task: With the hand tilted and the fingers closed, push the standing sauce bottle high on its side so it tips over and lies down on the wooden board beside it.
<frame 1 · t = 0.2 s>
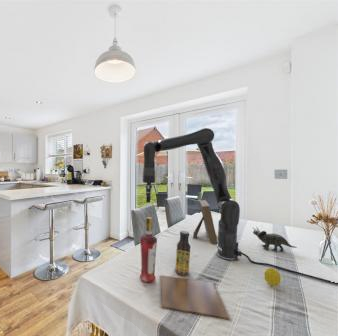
hand: (148, 201, 120), 29 cm above the table, tool pointing down, fingers open, 8 cm apart
liquor: (147, 280, 88), on the table
lemon: (271, 286, 85), on the table
sauce bottle: (182, 273, 94), on the table
toy dinosaur: (272, 249, 122), on the table
photo frame: (203, 237, 141), on the table
wooden board: (189, 294, 78), on the table
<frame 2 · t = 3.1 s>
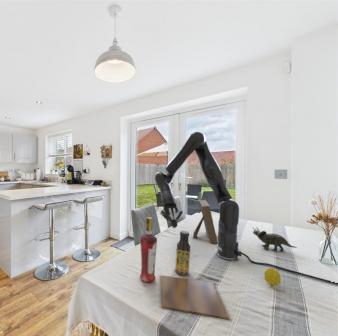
hand: (175, 227, 105), 18 cm above the table, tool tilted 45°, fingers closed
nothing on the table moved.
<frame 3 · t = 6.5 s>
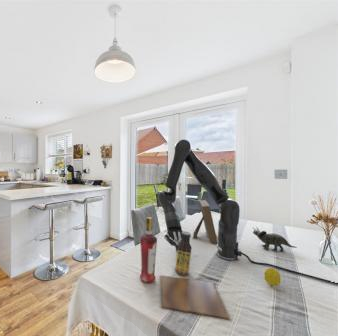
hand: (180, 253, 97), 8 cm above the table, tool tilted 45°, fingers closed
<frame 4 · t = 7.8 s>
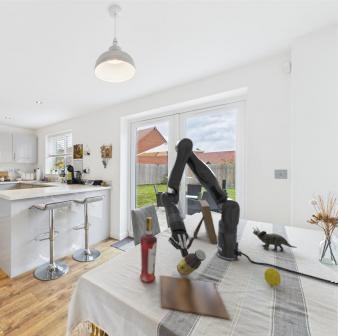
hand: (186, 257, 90), 9 cm above the table, tool tilted 45°, fingers closed
sauce bottle: (183, 269, 93), point 2 cm above the table, touching gripper
everything else where it was.
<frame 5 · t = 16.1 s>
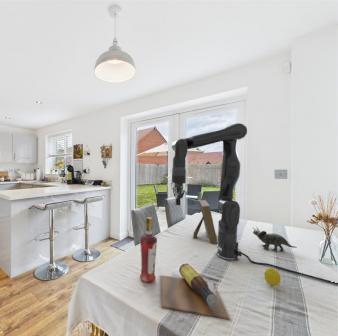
hand: (177, 204, 111), 29 cm above the table, tool pointing down, fingers closed
sauce bottle: (185, 269, 90), point 4 cm above the table, touching wooden board
everything else where it was.
at the end: sauce bottle tilted 90°; sauce bottle touching wooden board; liquor moved 0.2 cm from its start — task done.
